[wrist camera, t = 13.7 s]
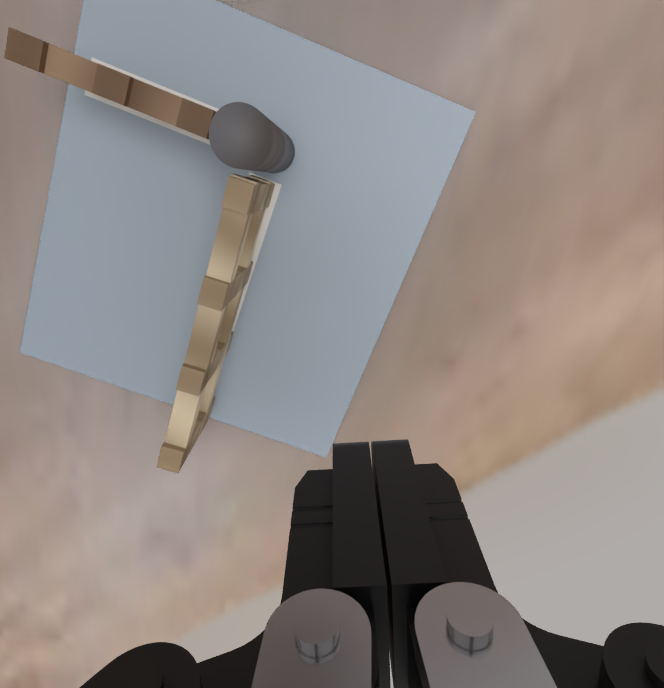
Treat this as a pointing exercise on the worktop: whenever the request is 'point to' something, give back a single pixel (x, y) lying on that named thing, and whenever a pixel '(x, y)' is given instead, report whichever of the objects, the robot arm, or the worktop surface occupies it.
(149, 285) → the card
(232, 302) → the hinged fence panel
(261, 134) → the fixed fence
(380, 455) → the robot arm
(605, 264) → the worktop surface
